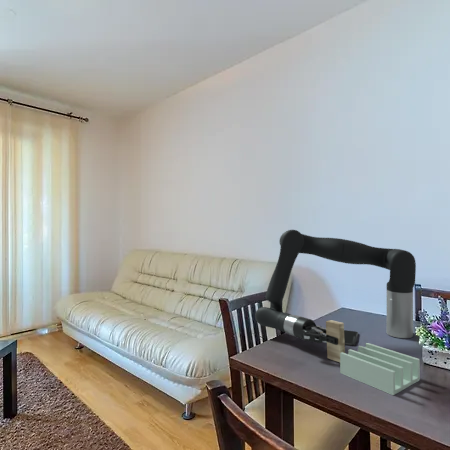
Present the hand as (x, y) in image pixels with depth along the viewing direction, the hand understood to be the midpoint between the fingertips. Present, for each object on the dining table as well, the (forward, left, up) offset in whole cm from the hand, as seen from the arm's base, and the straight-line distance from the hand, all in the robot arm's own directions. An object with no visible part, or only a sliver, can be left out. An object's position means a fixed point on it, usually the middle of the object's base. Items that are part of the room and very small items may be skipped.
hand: (340, 340), depth 110 cm
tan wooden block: (0, -2, -7) cm, 7 cm away
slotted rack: (0, +13, -7) cm, 15 cm away
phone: (-20, -12, -7) cm, 24 cm away
